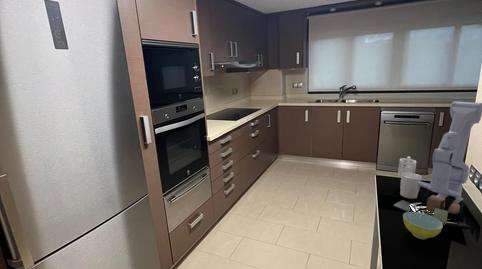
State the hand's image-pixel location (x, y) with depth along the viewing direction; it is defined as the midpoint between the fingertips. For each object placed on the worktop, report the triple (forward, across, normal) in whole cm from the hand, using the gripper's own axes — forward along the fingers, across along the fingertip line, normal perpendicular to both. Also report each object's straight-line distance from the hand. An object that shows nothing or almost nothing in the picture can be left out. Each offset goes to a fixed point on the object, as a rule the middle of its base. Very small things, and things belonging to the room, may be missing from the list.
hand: (434, 208), depth 107 cm
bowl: (+2, +4, -23) cm, 23 cm away
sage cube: (+2, +4, -6) cm, 7 cm away
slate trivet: (+1, -8, -5) cm, 10 cm away
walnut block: (+2, 0, 0) cm, 2 cm away
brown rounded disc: (+2, +3, +7) cm, 8 cm away
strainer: (+2, -19, +16) cm, 25 cm away
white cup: (+2, -13, +7) cm, 15 cm away
